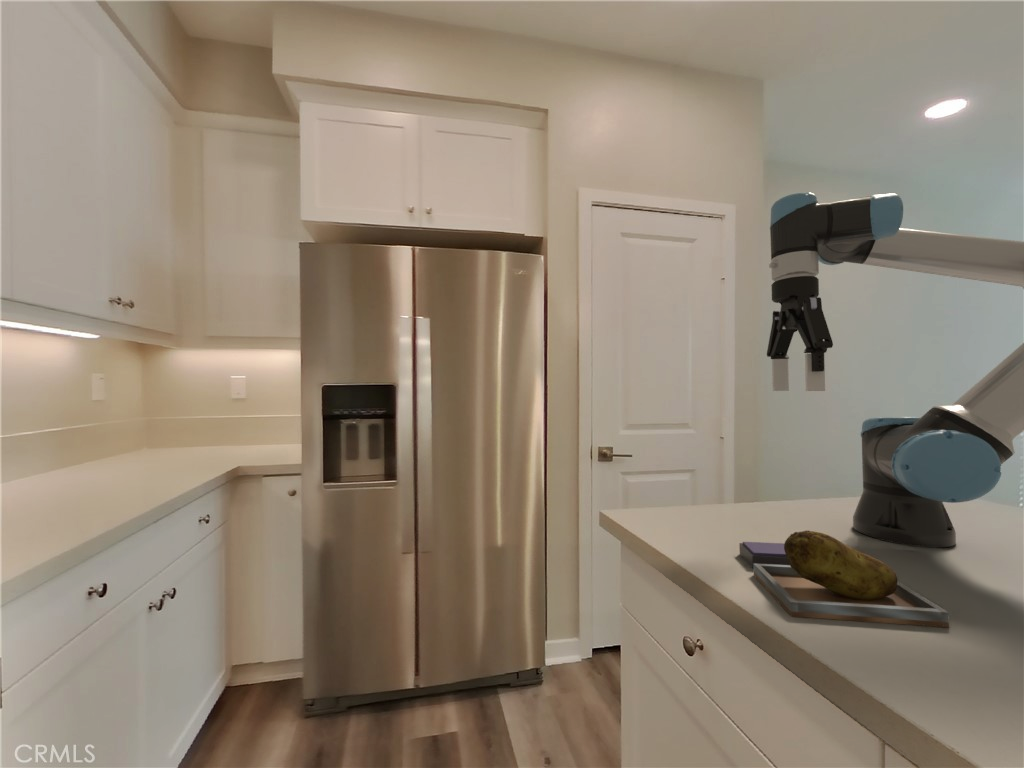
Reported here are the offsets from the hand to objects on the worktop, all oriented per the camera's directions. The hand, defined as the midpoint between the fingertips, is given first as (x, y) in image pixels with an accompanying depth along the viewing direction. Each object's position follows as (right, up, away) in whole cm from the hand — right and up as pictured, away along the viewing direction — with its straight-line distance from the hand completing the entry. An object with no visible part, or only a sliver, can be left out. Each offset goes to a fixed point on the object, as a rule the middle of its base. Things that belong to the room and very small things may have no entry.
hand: (796, 391), depth 82 cm
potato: (-8, -28, -21) cm, 36 cm away
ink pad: (-10, -29, -9) cm, 32 cm away
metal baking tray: (-8, -29, -22) cm, 37 cm away
